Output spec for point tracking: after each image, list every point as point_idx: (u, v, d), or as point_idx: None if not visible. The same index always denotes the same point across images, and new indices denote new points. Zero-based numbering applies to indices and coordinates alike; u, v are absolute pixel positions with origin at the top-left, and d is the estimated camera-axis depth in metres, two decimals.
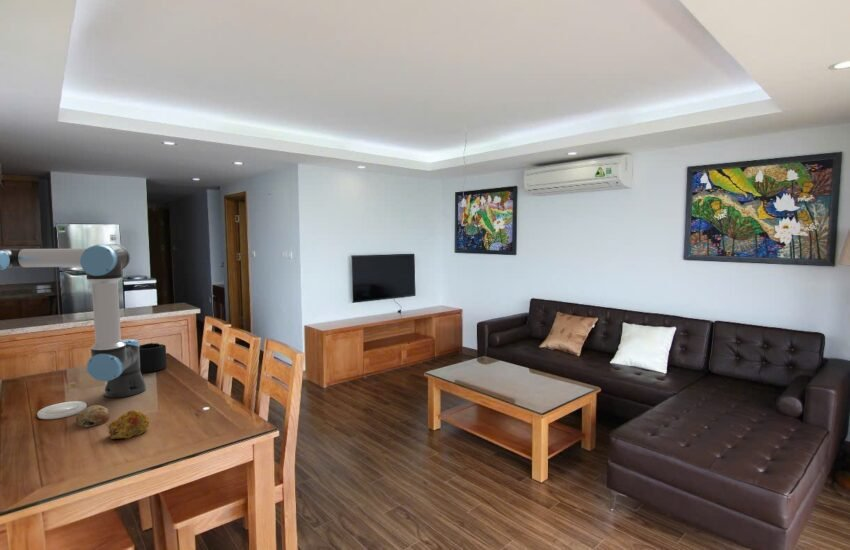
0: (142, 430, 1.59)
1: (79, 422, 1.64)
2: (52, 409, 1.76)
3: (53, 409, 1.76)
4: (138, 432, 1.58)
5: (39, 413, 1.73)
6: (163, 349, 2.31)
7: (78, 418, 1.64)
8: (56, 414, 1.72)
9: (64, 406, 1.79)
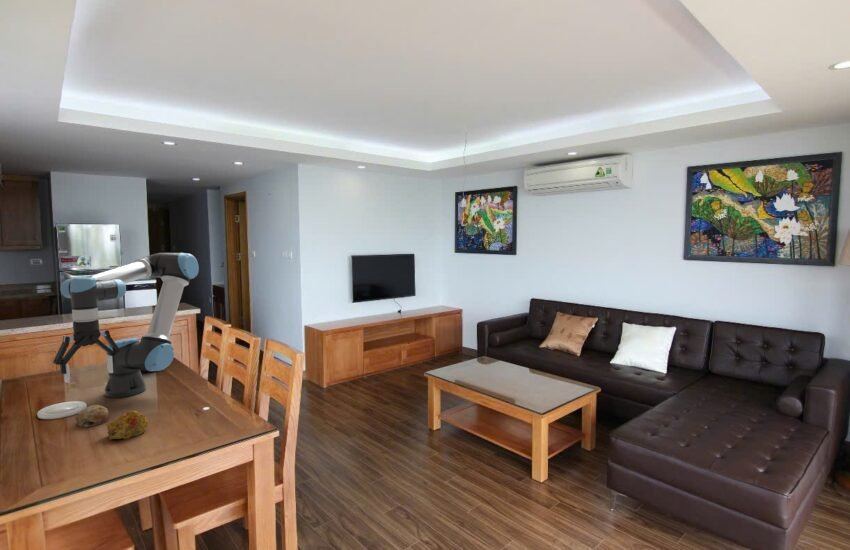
0: (141, 431, 1.58)
1: (79, 422, 1.64)
2: (52, 409, 1.76)
3: (53, 409, 1.76)
4: (137, 433, 1.57)
5: (39, 413, 1.73)
6: None
7: (78, 418, 1.64)
8: (56, 414, 1.72)
9: (64, 406, 1.79)
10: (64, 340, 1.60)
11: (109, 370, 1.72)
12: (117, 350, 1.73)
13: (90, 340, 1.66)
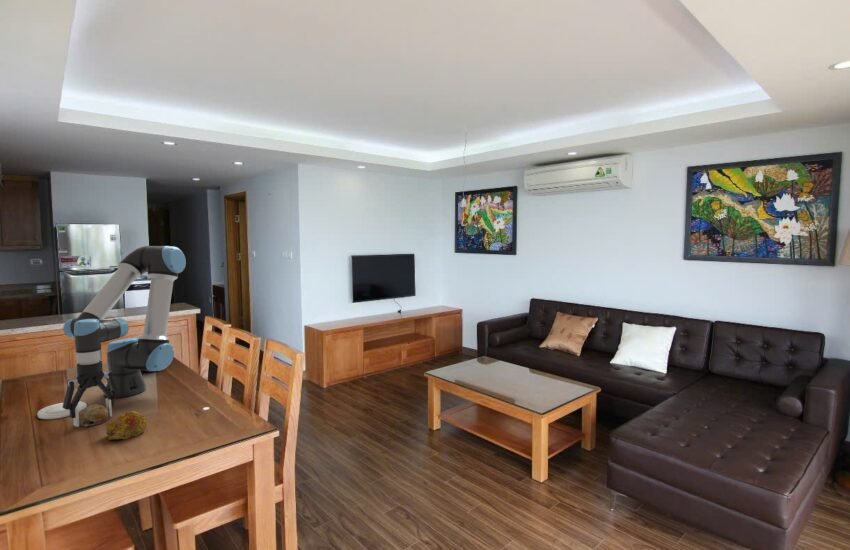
0: (140, 431, 1.58)
1: (79, 421, 1.64)
2: (52, 409, 1.76)
3: (53, 409, 1.76)
4: (135, 433, 1.57)
5: (39, 413, 1.73)
6: None
7: None
8: (56, 414, 1.72)
9: None
10: (69, 385, 1.61)
11: None
12: (116, 393, 1.74)
13: (94, 381, 1.67)
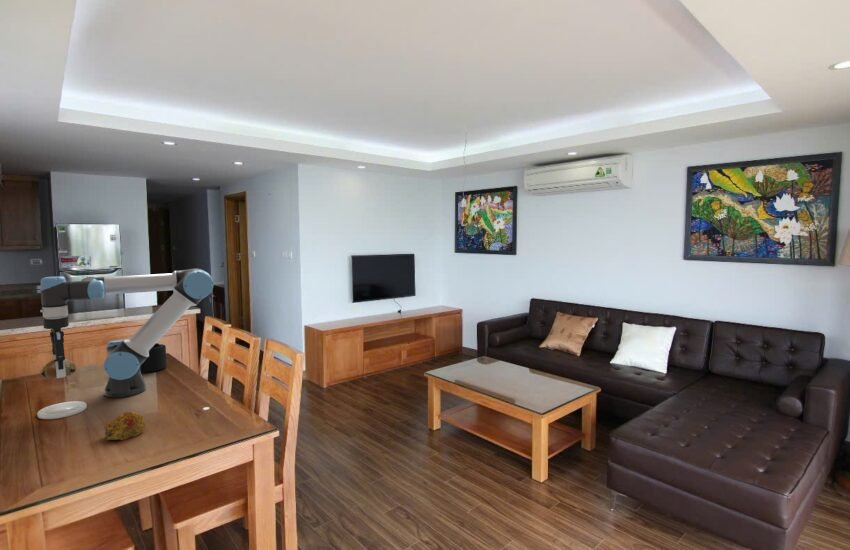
0: (138, 431, 1.57)
1: None
2: (52, 409, 1.76)
3: (53, 409, 1.76)
4: (134, 434, 1.56)
5: (39, 413, 1.73)
6: (163, 349, 2.31)
7: None
8: (56, 414, 1.72)
9: (64, 406, 1.79)
10: (59, 337, 1.70)
11: None
12: None
13: None
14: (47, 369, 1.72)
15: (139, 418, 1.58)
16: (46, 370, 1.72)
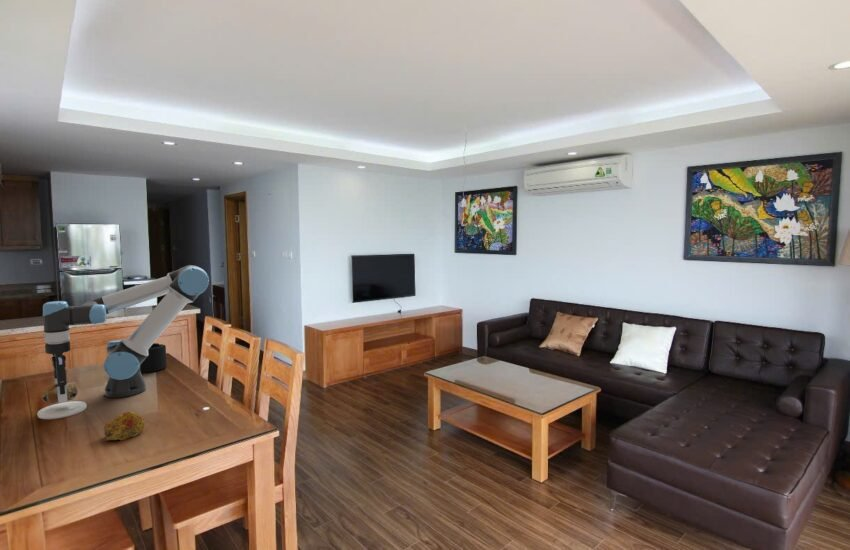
0: (137, 432, 1.57)
1: None
2: (52, 409, 1.76)
3: (53, 409, 1.76)
4: (133, 434, 1.56)
5: (39, 413, 1.73)
6: (163, 349, 2.31)
7: None
8: (56, 414, 1.72)
9: (64, 406, 1.79)
10: (61, 362, 1.71)
11: None
12: None
13: None
14: (49, 394, 1.73)
15: (138, 418, 1.58)
16: (48, 395, 1.73)
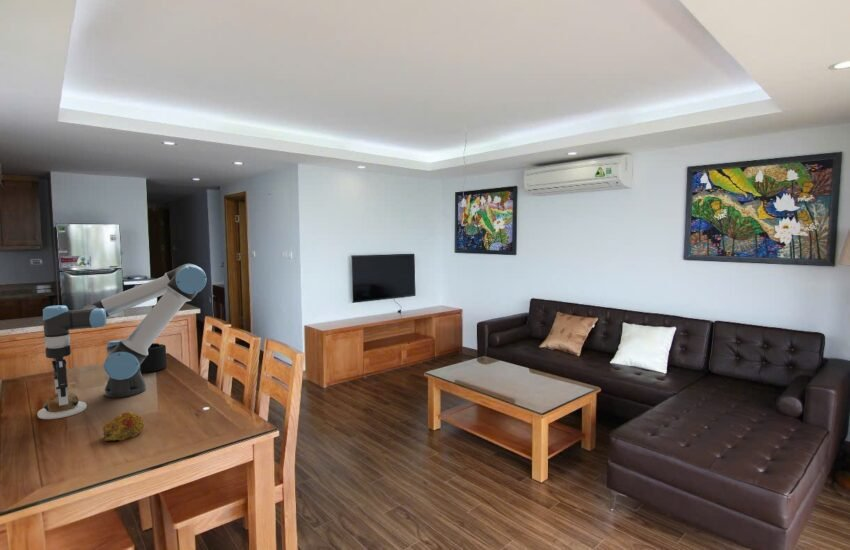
0: (136, 432, 1.57)
1: (66, 406, 1.75)
2: None
3: None
4: (132, 434, 1.56)
5: (39, 413, 1.73)
6: (163, 349, 2.31)
7: None
8: (56, 414, 1.72)
9: None
10: (61, 365, 1.71)
11: None
12: None
13: None
14: (50, 403, 1.73)
15: (137, 419, 1.58)
16: (49, 404, 1.73)
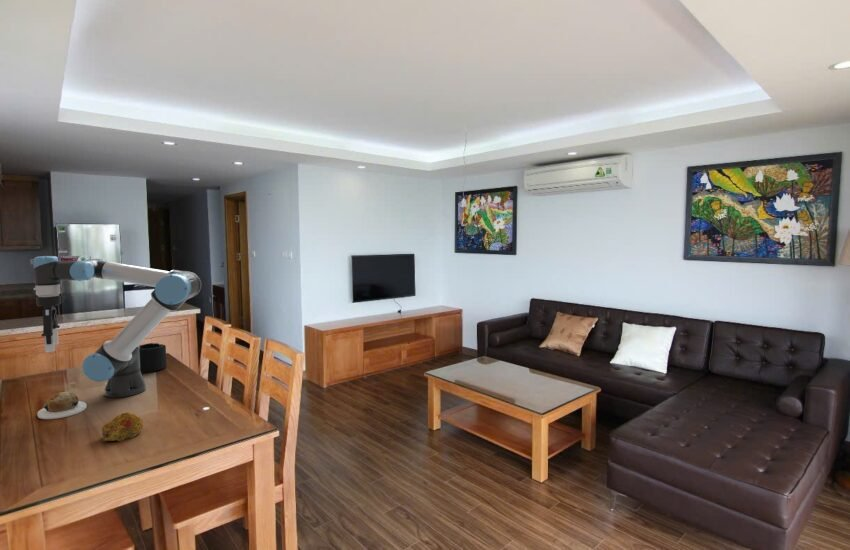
0: (135, 433, 1.57)
1: (66, 406, 1.75)
2: None
3: None
4: (131, 435, 1.56)
5: (39, 413, 1.73)
6: (163, 349, 2.31)
7: (64, 403, 1.74)
8: (56, 414, 1.72)
9: None
10: (48, 313, 1.75)
11: (55, 342, 1.87)
12: (57, 323, 1.89)
13: None
14: (50, 403, 1.73)
15: (136, 419, 1.58)
16: (49, 404, 1.73)
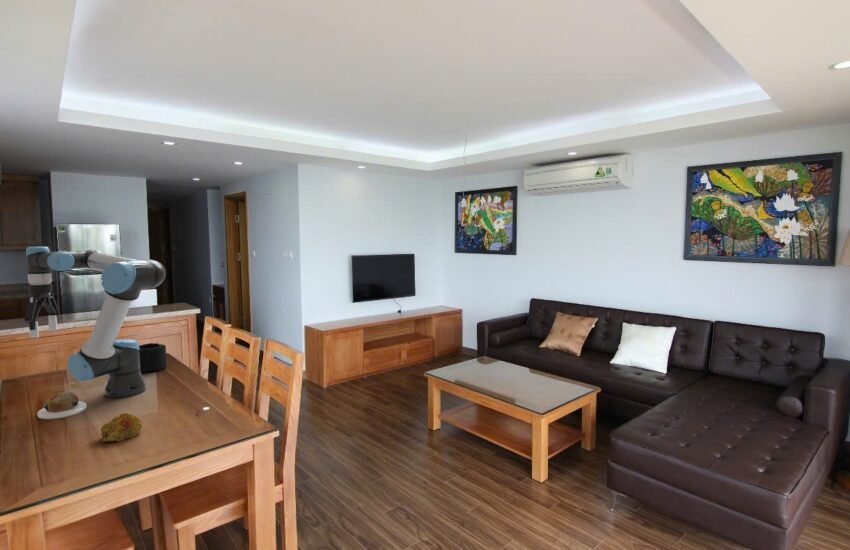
0: (134, 433, 1.56)
1: (66, 406, 1.75)
2: None
3: None
4: (130, 435, 1.55)
5: (39, 413, 1.73)
6: (163, 349, 2.31)
7: (64, 403, 1.74)
8: (56, 414, 1.72)
9: None
10: (32, 300, 1.84)
11: (53, 328, 1.98)
12: (58, 310, 2.01)
13: (45, 301, 1.92)
14: (50, 403, 1.73)
15: (135, 419, 1.57)
16: (49, 404, 1.73)
